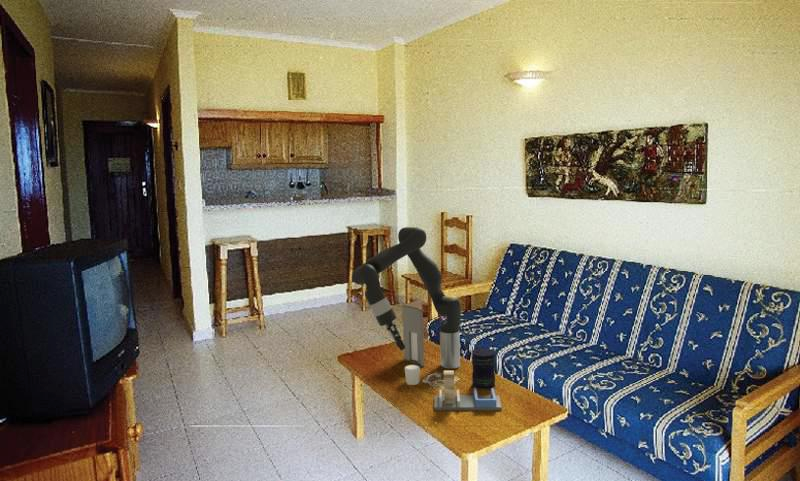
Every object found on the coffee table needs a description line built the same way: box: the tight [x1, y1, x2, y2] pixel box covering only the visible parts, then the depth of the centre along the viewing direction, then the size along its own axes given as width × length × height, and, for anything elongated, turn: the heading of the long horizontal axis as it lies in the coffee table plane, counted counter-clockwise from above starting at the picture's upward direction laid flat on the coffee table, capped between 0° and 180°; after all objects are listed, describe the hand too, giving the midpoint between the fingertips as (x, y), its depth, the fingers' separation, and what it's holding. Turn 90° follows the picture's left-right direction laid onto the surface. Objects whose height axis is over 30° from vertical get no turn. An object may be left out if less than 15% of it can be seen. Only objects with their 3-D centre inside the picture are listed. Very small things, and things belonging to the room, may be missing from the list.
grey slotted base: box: [433, 387, 503, 411], centre depth 212 cm, size 11×26×4 cm, turn 85°
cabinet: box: [401, 298, 425, 368], centre depth 263 cm, size 21×10×28 cm, turn 179°
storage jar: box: [471, 342, 496, 390], centre depth 229 cm, size 10×10×18 cm
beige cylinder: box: [404, 364, 421, 386], centre depth 236 cm, size 7×7×7 cm
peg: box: [443, 370, 456, 403], centre depth 212 cm, size 4×4×12 cm
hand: (401, 347), depth 211 cm, fingers open, 8 cm apart
